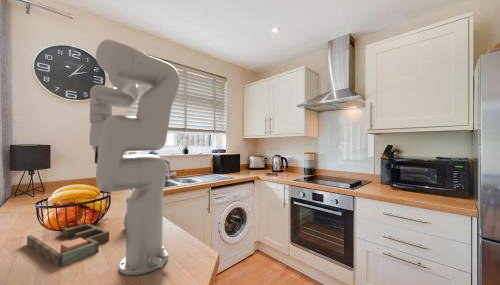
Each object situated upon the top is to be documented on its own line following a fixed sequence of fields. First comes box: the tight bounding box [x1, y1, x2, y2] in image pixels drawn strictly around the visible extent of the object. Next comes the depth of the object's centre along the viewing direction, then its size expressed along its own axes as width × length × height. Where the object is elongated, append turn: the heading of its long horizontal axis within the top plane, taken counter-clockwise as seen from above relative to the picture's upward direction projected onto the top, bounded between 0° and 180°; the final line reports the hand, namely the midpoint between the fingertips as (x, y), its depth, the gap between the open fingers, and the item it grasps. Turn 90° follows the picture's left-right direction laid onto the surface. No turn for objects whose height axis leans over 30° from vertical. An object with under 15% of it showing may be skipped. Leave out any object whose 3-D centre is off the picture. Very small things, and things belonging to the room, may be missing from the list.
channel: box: [26, 223, 110, 268], centre depth 71 cm, size 27×16×3 cm, turn 60°
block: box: [59, 238, 88, 254], centre depth 64 cm, size 5×5×4 cm
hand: (100, 163), depth 85 cm, fingers closed
